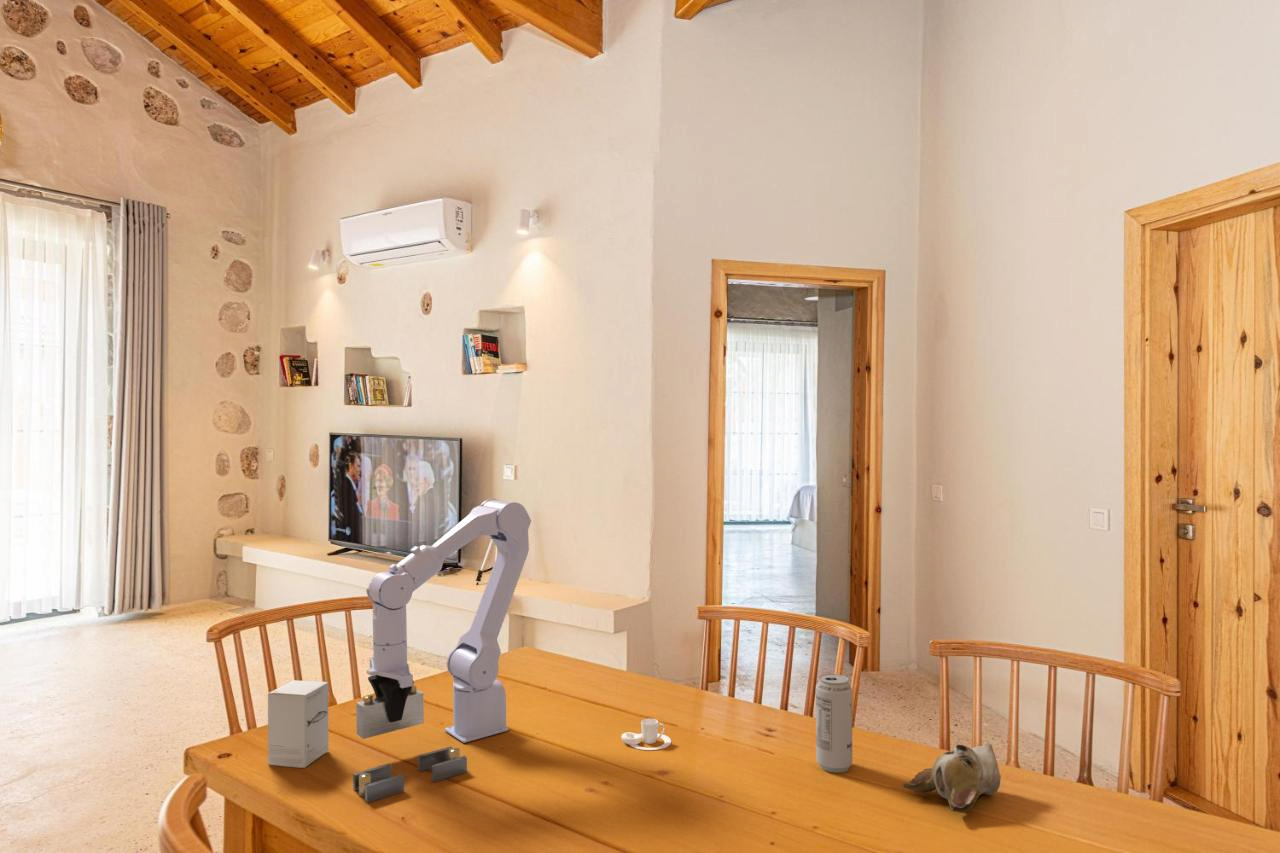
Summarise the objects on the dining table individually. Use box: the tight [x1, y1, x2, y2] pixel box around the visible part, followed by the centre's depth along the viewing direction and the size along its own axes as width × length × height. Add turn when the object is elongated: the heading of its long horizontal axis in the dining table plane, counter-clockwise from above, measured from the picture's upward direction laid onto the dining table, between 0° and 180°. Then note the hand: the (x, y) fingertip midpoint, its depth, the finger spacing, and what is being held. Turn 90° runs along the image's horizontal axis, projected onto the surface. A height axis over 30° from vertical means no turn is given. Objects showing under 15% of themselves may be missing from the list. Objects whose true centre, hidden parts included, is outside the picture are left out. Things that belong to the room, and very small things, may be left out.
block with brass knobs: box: [355, 684, 425, 740], centre depth 145 cm, size 11×3×6 cm, turn 129°
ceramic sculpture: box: [902, 743, 1002, 813], centre depth 127 cm, size 11×9×15 cm
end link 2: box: [417, 745, 468, 783], centre depth 138 cm, size 6×6×3 cm
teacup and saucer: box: [620, 717, 672, 751], centre depth 150 cm, size 9×8×4 cm
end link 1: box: [352, 763, 405, 804], centre depth 131 cm, size 6×6×3 cm
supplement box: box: [267, 679, 329, 769], centre depth 144 cm, size 7×7×13 cm
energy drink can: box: [815, 673, 853, 774], centre depth 139 cm, size 6×6×15 cm
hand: (391, 717), depth 145 cm, fingers closed on block with brass knobs, 3 cm apart
